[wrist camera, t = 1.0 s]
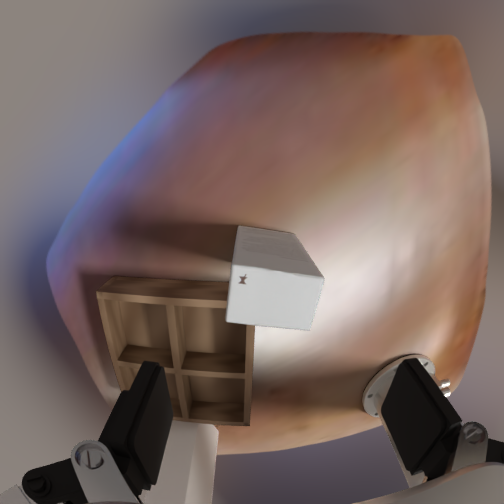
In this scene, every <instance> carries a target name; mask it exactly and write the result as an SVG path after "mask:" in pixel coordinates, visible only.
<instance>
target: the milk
mask: <svg viewBox="0 0 504 504" xmlns="http://www.w3.org/2000/svg"><path fill="white" fill-rule="evenodd" d="M218 434H219V431H218V430H217V429H216V427H215V426H214V425H213V424H202V423H192V422H183V421H175V420H173V421H172V424H171V428H170V432H169V436H168V440H167V444H166V448H165V451H164V455H163V459H162V463H161V467H160V472H159V476H158V480H157V483H156V485H151V489H150V491H149V490H147V492H146V496H145V500H144V504H212V493H213V484H214V473H215V463H216V453H217V444H218Z"/></svg>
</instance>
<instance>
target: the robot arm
mask: <svg viewBox="0 0 504 504" xmlns="http://www.w3.org/2000/svg"><path fill="white" fill-rule="evenodd" d="M449 385H450V380H449V379H444V380H441V381H439V380H438V379H437V378H436V377H435V366H434V364H433V363H432V361H431V360H430V359H429V358H428V357H426V356H423V355H409V356H406V357H403V358H400V359H398V360H396V361H394V362H392V363H391V364H389V365H387V366H386V367H385V368H383V369H382V370H381V371H380V372H379V373H377V374H376V375H375V376H374V378H373V379H372V380H371V381H370V382H369V384H368V385H367V387H366V388H365V391H364V393H363V397H362V404H363V406H364V409H365V411H366V412H367V413H368V414H369V415H371V416H373V417H379V418H380V419H381V421H382V424H383V426H384V428H385V430H386V433H387V435H388V437H389V439H390V442H391V444H392V446H393V449H394V451H395V453H396V456H397V458H398V460H399V463H400V465H401V468H402V470H403V472H404V475H405V477H406V480H407V482H408V485H409V487H410V488H408V489H405V490H402V491H399V492H396V493H393V494H389V495H386V496H382V497H379V498H375V499H371V500H367V501H362V502H358V503H353V504H504V442H499V441H496V440H492V439H489V438H488V432H487V430H486V428H485V427H484V426H483V425H482V424H480V423H478V422H473V421H472V422H467V423H465V424H463V423H462V420H461V418H460V417H459V415H458V414H457V412H456V411H455V409H454V408H453V406H452V405H451V404H450V402H449V401H448V399H447V397H449V396H450V389H449V388H448V386H449ZM444 387H445V388H444ZM172 421H173V409H172V404H171V400H170V395H169V390H168V385H167V380H166V375H165V369H164V367H162V366H160V364H159V363H158V362H152V361H143V363H142V365H141V367H140V369H139V371H138V373H137V375H136V377H135V379H134V381H133V383H132V385H131V387H130V390H123V391H122V392H121V394H120V396H119V398H118V400H117V402H116V404H115V406H114V408H113V410H112V412H111V414H110V416H109V419H108V420H107V423H106V425H105V427H104V429H103V431H102V433H101V435H100V438H99V440H98V441H95V440H86V441H82V442H80V443H78V444H77V445H76V446H75V447H74V448H73V450H72V452H71V458H69V459H66V460H63V461H60V462H56V463H54V464H50V465H47V466H43V467H39V468H35V469H32V470H30V471H28V472H27V473H26V474H25V475H24V477H23V479H22V485H21V486H19V487H18V486H17V485H15V486H13V487H11V488H10V489H8V490H6V491H5V492H3V493H2V494H0V504H143V502H142V501H141V499H140V498H139V495H141V493H142V489H144V490H149V491H150V489H151V485H156V483H157V480H158V476H159V472H160V467H161V463H162V459H163V455H164V451H165V448H166V444H167V440H168V436H169V432H170V428H171V424H172Z"/></svg>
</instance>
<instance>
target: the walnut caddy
mask: <svg viewBox="0 0 504 504" xmlns="http://www.w3.org/2000/svg"><path fill="white" fill-rule="evenodd" d="M228 289H229V282H212V281H190V280H171V279H153V278H137V277H122V276H113V277H112V278H111V279H109V280H108V281H107V282H106V283H105V284H104V285H103V286H101V287H100V288H99V289H98V290H97V291H96V294H97V300H98V305H99V310H100V315H101V319H102V324H103V328H104V333H105V337H106V341H107V345H108V349H109V353H110V356H111V360H112V363H113V367H114V370H115V374H116V377H117V380H118V383H119V386H120V390H121V392H122V391H123V390H130V387H131V385H132V383H133V381H134V379H135V377H136V375H137V373H138V371H139V369H140V367H141V365H142V363H143V361H152V362H158V363H159V364H160V366H162V367H164V369H165V375H166V380H167V385H168V390H169V395H170V400H171V404H172V409H173V420H175V421H183V422H192V423H202V424H214V425H231V426H250V412H251V393H252V374H253V355H254V334H255V325H247V324H239V323H231V322H226V320H225V316H226V306H227V297H228Z"/></svg>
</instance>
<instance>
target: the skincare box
mask: <svg viewBox="0 0 504 504" xmlns="http://www.w3.org/2000/svg"><path fill="white" fill-rule="evenodd" d="M324 279H325V278H324V277H323V275H322V274H321V272H320V271H319V269H318V268H317V266H316V265H315V263H314V262H313V260H312V259H311V257H310V256H309V254H308V253H307V251H306V250H305V248H304V247H303V245H302V244H301V242H300V241H299V239H298V238H297V236H296V235H295V234H292V233H286V232H279V231H273V230H266V229H260V228H253V227H246V226H238V229H237V235H236V241H235V247H234V253H233V260H232V265H231V272H230V280H229V289H228V297H227V306H226V316H225V320H226V322H231V323H239V324H247V325H255V326H265V327H276V328H286V329H298V330H307V331H309V330H310V328H311V325H312V322H313V318H314V315H315V312H316V308H317V305H318V301H319V298H320V294H321V291H322V287H323V283H324Z"/></svg>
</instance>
